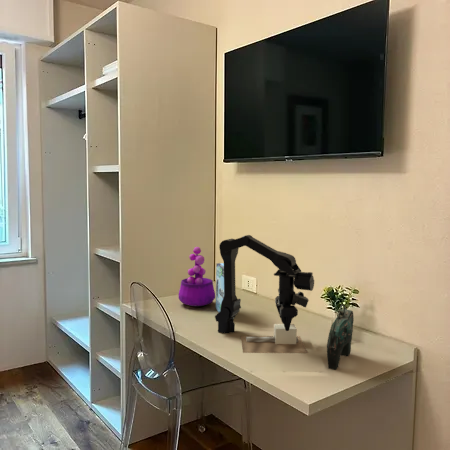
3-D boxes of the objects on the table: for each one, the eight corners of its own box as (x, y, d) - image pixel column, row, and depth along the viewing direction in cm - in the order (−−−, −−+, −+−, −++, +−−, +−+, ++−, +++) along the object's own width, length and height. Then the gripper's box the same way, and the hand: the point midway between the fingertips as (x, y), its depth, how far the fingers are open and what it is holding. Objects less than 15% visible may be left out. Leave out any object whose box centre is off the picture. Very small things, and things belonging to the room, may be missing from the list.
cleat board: (242, 355, 168) (243, 348, 168) (240, 338, 186) (240, 332, 186) (308, 356, 169) (308, 348, 169) (299, 339, 187) (300, 332, 186)
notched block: (275, 344, 178) (275, 328, 177) (273, 338, 184) (273, 323, 183) (296, 344, 178) (296, 328, 177) (293, 338, 184) (294, 324, 183)
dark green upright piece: (339, 350, 175) (341, 298, 173) (356, 353, 172) (358, 300, 170) (322, 368, 158) (324, 311, 156) (341, 372, 155) (343, 314, 153)
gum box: (215, 308, 230) (215, 263, 228) (225, 308, 231) (225, 262, 229) (223, 320, 211) (224, 270, 209) (234, 319, 212) (235, 270, 210)
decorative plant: (222, 304, 238) (223, 246, 235) (197, 312, 224) (198, 250, 221) (196, 298, 250) (196, 243, 247) (170, 304, 236) (170, 246, 233)
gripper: (312, 293, 169) (310, 335, 171) (302, 282, 188) (301, 319, 189) (281, 293, 169) (280, 334, 171) (275, 282, 188) (274, 319, 189)
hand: (285, 326), depth 180 cm, fingers open, 9 cm apart
